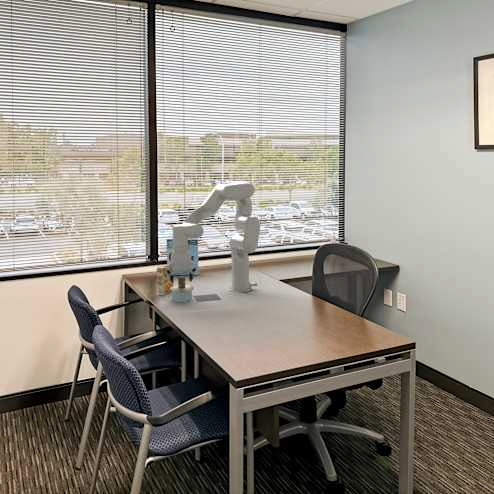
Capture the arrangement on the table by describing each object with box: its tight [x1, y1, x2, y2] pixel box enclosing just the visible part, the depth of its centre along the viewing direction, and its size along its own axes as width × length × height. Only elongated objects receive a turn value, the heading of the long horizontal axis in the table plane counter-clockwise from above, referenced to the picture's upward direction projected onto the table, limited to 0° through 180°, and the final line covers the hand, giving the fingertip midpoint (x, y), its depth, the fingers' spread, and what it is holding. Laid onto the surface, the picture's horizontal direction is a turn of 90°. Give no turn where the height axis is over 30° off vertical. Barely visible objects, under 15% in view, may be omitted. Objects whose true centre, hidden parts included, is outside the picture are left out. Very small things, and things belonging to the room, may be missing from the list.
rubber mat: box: [192, 293, 223, 303], centre depth 279 cm, size 13×13×1 cm
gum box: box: [166, 238, 199, 276], centre depth 338 cm, size 20×5×23 cm, turn 85°
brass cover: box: [170, 276, 195, 292], centre depth 274 cm, size 12×12×6 cm
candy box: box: [156, 264, 174, 297], centre depth 289 cm, size 9×4×15 cm, turn 150°
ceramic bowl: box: [171, 290, 193, 303], centre depth 275 cm, size 10×10×6 cm
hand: (181, 281), depth 274 cm, fingers open, 9 cm apart
